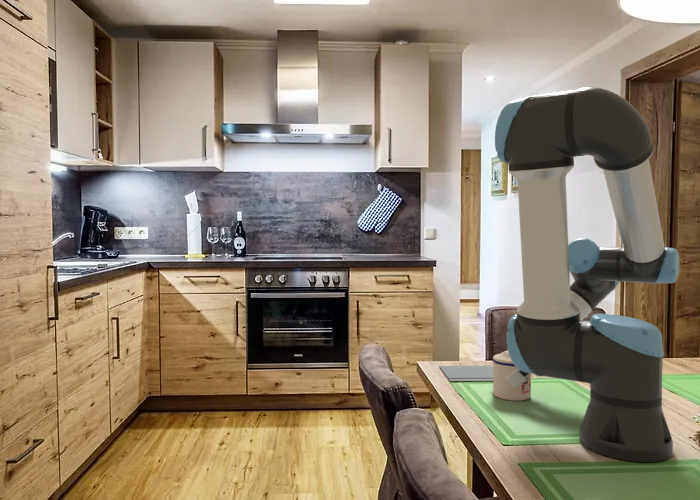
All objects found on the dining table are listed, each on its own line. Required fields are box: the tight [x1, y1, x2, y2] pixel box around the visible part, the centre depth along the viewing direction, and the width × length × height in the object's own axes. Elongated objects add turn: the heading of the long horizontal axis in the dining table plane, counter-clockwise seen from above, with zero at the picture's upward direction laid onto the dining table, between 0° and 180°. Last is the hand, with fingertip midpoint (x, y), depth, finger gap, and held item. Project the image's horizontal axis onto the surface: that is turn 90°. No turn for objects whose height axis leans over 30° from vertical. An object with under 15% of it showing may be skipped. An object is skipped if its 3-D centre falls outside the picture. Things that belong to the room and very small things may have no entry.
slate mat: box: [438, 365, 493, 380], centre depth 150 cm, size 13×20×1 cm, turn 91°
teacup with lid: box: [491, 350, 532, 402], centre depth 130 cm, size 12×9×12 cm
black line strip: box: [448, 378, 493, 383], centre depth 142 cm, size 2×21×1 cm, turn 91°
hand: (502, 377), depth 130 cm, fingers closed on teacup with lid, 11 cm apart
